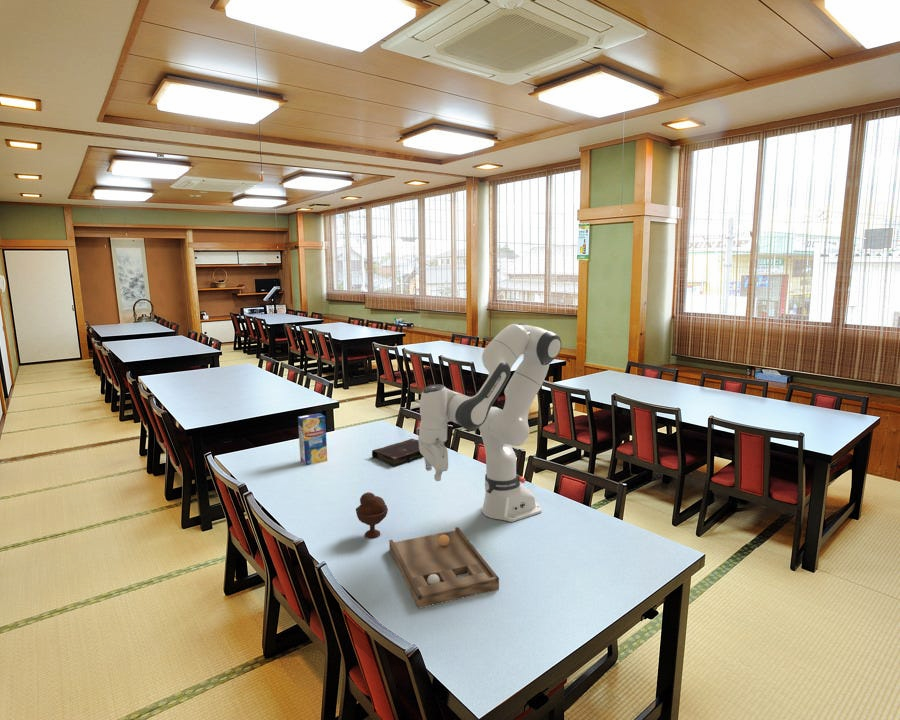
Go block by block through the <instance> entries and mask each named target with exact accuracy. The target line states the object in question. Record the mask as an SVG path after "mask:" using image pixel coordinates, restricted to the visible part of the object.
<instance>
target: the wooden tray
mask: <svg viewBox="0 0 900 720" xmlns="http://www.w3.org/2000/svg"><path fill="white" fill-rule="evenodd" d="M441 535H447V536H448V537H449V540H450V541H449V544H448V545H447V546H441V545H440V544H439V542H438V539H439V537H440V536H441ZM388 541H389V542H388V543H389V544H388V545H389V552H390V554H391V556H392V557H393V560H394V562H395V564H396V566H397V568H398V570H399V572H400V573H401V576H402V578H403V580H404V582H405V583H406V586H407V588H408V591H409V592H410V595H411V596H412V598H413V601H414V603H415V604H416V606H417V609H422V608H421V607H423V608H426V607H425V606H427V607H430V606H429V605H431V606H433V605H432V604H435V605H438V604H437V603H439V604H442V603H441V602H443V603H446V601H448V602H451V601H450V600H452V601H456V600H460V599H463V598H462V597H464V598H467V596H468V597H472V596H475V594H477V595H479V594H480V593H481V594H485V593H488V591H489V592H493V591H496V590H499V589H500V577H499V576H498V575H497V573H495V571H494V570H493V569H492V567H491V566H490V565H489V564H488V562H487V561H486V559H485V558H484V557H483V556H482V555H481V553H479V551H478V550H477V549H476V547H475V546H474V545H473V544H472V542H471V541H470V540H469V539H468V538H467V536H466V535H465V534H464V533H463V531H462V530H461V529H460V527H458V526H456V527H454V530H450V531H446V532H440V533H435V534H430V535H425V536H420V537H413V538H409V539H403V540H398V541H393V539H389V540H388ZM431 574H436V575H437V576H438V577H439V579H440V583H435V584H431V585H428V583H427V579H428V577H429V576H430V575H431ZM466 574H467V576H463V575H466ZM458 576H463V577H458ZM471 595H472V596H471ZM459 598H460V599H459ZM455 599H456V600H455Z"/></svg>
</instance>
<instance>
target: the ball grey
mask: <svg viewBox="0 0 900 720" xmlns="http://www.w3.org/2000/svg"><path fill="white" fill-rule="evenodd" d="M435 583H440V579H439V577H438V576H437V575H436V574H431V575H430V576H429V577H428V579H427V584H428V585H431V584H435Z"/></svg>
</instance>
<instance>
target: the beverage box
mask: <svg viewBox="0 0 900 720" xmlns="http://www.w3.org/2000/svg"><path fill="white" fill-rule="evenodd" d="M297 423H298V425H297V427H298V440H299V443H298V444H299V456H300V458H299V459H300V462H301V463H302V464H303V465H304V466H311V465H314V464H319V463H324V462H328V447H327V445H328V444H327V427H326V426H327V425H326V416H325V415H324V414H322V413H320V412H318V413H314V414H307V415H302V416H301V415H300V416H297Z"/></svg>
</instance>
